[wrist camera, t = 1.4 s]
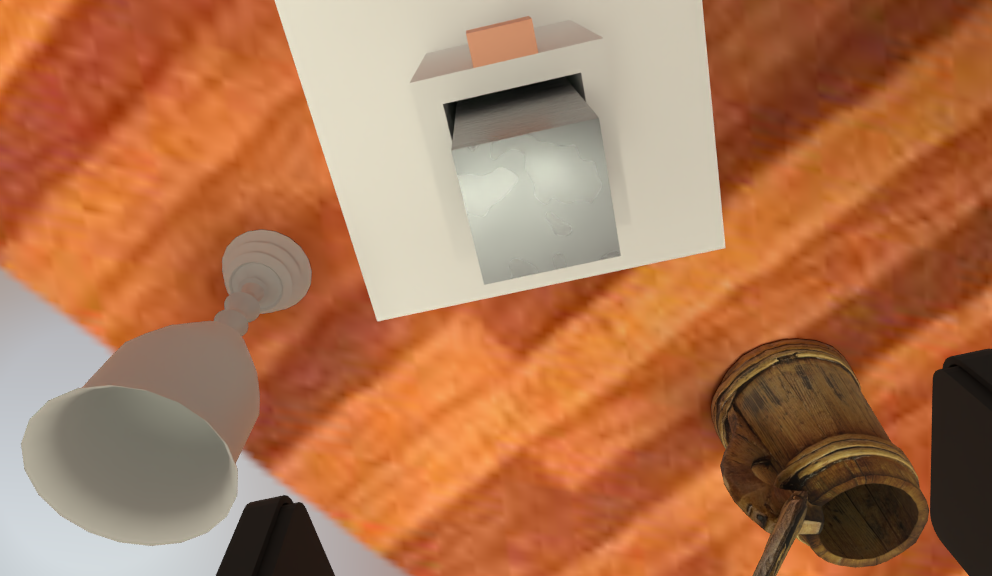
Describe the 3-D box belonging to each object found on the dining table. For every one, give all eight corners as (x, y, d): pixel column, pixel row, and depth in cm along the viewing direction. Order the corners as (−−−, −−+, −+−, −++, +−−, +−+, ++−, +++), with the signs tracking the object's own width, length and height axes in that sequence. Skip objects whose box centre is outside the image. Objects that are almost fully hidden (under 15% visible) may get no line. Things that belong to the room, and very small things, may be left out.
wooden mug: (665, 315, 43) (783, 527, 27) (875, 349, 45) (1107, 570, 28) (627, 436, 47) (710, 689, 31) (822, 465, 48) (1002, 721, 32)
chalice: (192, 304, 42) (14, 519, 26) (213, 197, 40) (28, 360, 23) (316, 338, 43) (220, 564, 27) (343, 236, 41) (255, 418, 24)
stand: (677, -158, 34) (771, -215, 23) (717, 238, 42) (799, 330, 31) (264, -56, 35) (174, -66, 24) (380, 310, 43) (349, 421, 32)
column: (548, 55, 36) (600, 115, 21) (564, 143, 37) (622, 257, 23) (459, 75, 36) (448, 149, 21) (479, 162, 38) (483, 286, 23)
